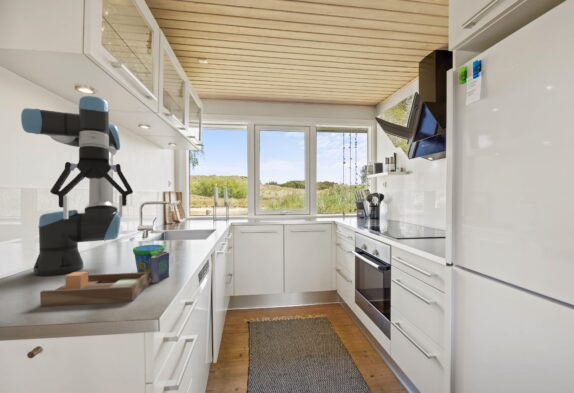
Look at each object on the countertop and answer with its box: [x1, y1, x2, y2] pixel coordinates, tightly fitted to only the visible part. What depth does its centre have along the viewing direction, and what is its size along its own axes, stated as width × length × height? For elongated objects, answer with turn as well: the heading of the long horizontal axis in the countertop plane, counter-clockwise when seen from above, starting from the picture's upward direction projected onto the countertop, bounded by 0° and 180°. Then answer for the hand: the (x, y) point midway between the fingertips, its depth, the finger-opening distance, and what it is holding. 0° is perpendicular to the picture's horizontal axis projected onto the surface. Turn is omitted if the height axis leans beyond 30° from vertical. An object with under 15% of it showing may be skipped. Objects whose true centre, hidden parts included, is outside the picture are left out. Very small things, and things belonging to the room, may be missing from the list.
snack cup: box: [132, 244, 165, 277], centre depth 105 cm, size 16×10×10 cm
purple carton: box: [150, 249, 170, 285], centre depth 99 cm, size 9×3×11 cm, turn 172°
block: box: [64, 271, 89, 289], centre depth 83 cm, size 4×4×4 cm
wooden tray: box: [39, 272, 151, 308], centre depth 85 cm, size 15×23×4 cm, turn 99°
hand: (94, 217), depth 84 cm, fingers open, 13 cm apart
